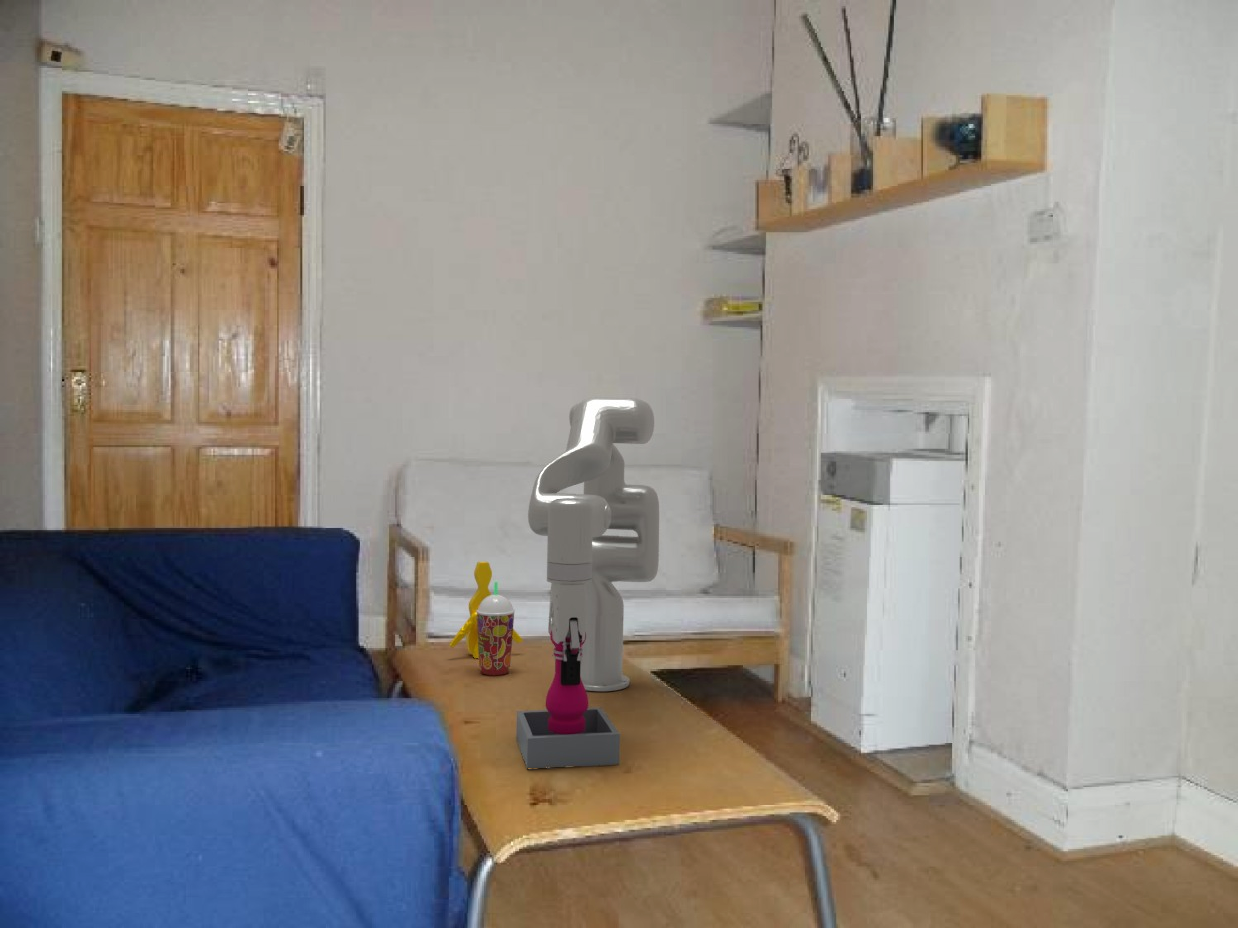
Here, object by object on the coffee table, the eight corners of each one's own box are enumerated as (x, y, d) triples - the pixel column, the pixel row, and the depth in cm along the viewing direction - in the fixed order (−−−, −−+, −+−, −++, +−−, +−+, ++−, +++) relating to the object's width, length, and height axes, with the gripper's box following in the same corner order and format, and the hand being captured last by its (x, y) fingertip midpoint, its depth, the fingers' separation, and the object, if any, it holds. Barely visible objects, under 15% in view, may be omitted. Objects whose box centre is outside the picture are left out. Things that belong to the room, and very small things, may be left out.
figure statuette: (450, 662, 224) (452, 566, 223) (443, 654, 231) (444, 561, 230) (525, 656, 231) (526, 563, 230) (515, 649, 238) (517, 559, 237)
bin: (516, 739, 170) (516, 711, 170) (600, 735, 173) (601, 707, 173) (527, 769, 156) (527, 738, 155) (619, 764, 159) (619, 733, 159)
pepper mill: (549, 736, 160) (551, 615, 159) (541, 723, 167) (543, 607, 166) (592, 734, 162) (594, 613, 161) (582, 721, 169) (584, 606, 168)
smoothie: (470, 669, 218) (472, 580, 217) (506, 666, 221) (508, 578, 220) (481, 678, 210) (483, 586, 209) (518, 675, 214) (520, 584, 213)
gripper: (540, 565, 171) (538, 668, 172) (554, 580, 154) (552, 695, 155) (582, 564, 173) (580, 667, 173) (601, 580, 156) (599, 693, 157)
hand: (567, 679), depth 164 cm, fingers closed on pepper mill, 5 cm apart
